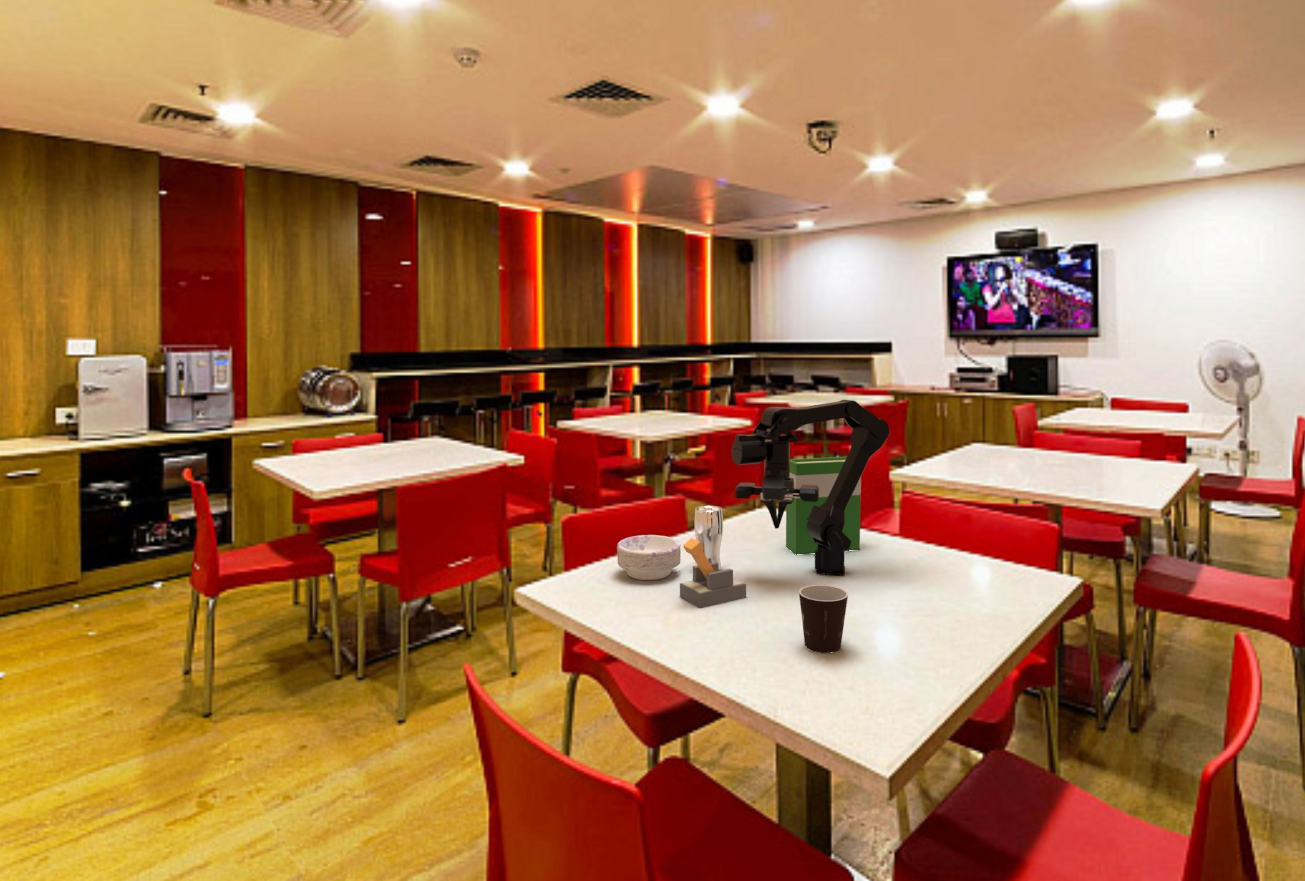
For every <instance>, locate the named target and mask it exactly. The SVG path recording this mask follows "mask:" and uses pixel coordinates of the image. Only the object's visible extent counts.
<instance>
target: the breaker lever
mask: <svg viewBox="0 0 1305 881" xmlns="http://www.w3.org/2000/svg"><path fill="white" fill-rule="evenodd" d="M682 547H683V549H684V550H685V551H686V553H688V554H690V555H691V557H692V559H693V560H694V562H695V563H696V566H697V565H698V567H699V568H700V570H701V572H702V573H703V575H704V577H705V578H706V580H707V573H710V572H715V571H714V569H713V567H712V566H711V564H710V562H709V561H708V559H707V557H706V556H705V554H704V552H703V551H702V550H703V549H704V547H703V545H702V544H701V542H700V541H697V540H696V538H693V537H691V538H690V539H688V540H687V541H686V542H685V543H684V544H682Z"/></svg>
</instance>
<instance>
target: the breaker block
mask: <svg viewBox="0 0 1305 881" xmlns="http://www.w3.org/2000/svg"><path fill="white" fill-rule="evenodd" d="M710 564H711V566H712V567H713V569H714V571H715V572H710V573H707V580H706V578H705V577H704V575H703V573H702V572H701V570H700V568H699V567H698V566H697V565H693V566H692V580H690V581H686V582H680V583H679V597H680V598H681V599H683V600H685V601H687V602H689V603H690V604H692V605H694V606H696V607H697V608H698V609H701V608H705V607H710V606H714V605H718V604H723V603H727V602H731V601H735V600H741V599H745V598H747V583H745V582H743V581H740V580H738V579H736V578H734V570H733V569H732V568H727V569H726V568H725V569H720V570H719V563H716V562H713V563H710Z"/></svg>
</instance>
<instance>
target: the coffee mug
mask: <svg viewBox="0 0 1305 881" xmlns="http://www.w3.org/2000/svg"><path fill="white" fill-rule="evenodd" d="M798 594H799V596H798V597H799V603H800V604H799V606H800V614H801V624H802V632H803V640H804V646H806V647H807V648H806V647H805V648H806V649H807V650H809V649H810V650H809V651H811V650H812V651H811V652H813V653H814V652H815V653H819V652H820V654H832V653H831V652H833V653H836V652H838V651H840V650H841V647H842V640H843V634H844V633H843V632H844V626H845V619H846V612H847V604H848V596H849V593H848V592H847V591H846V589H843V588H841V587H837V586H833V585H827V584H814V585H813V584H812V585H807V586H803V587H801V588H800V589H799V590H798Z"/></svg>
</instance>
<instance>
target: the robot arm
mask: <svg viewBox="0 0 1305 881" xmlns="http://www.w3.org/2000/svg"><path fill="white" fill-rule="evenodd" d="M839 419H843V420H844V422H845V423H846V425H847V426H848V427H850V428H851V429H852V431H851V434H850V449H849V451H848V454H847V456H846V457H847V458H846V460H845V462H844V464H843V466H842V468H841V470H840V473H839V475H838V477H837V479H836V481H835V483H834V485H833V487H832V489H831V491H830V494H829V496H828V498H827V500H826V501H825V503H824V504H822V505H821V506H820V507H819V506H816V505H814V506H813V508H812V511H811V514H810V515H809V517H808V518H807V519H806V520H808V523H807V530H808V533H809V534H810V536H812V538H813V541H814V543H817V544H818V547H817V550H815V554H814V569H815V570H816V574H817V575H829V576H830V575H832V576H845V573H846V572H845V571H846V566H845V555H846V552H845V550H849V548H850V545H851V540H850V539H849V538H848V537H847V536H846V535H845V534H844V533H843V532H842V531H843V528H844V525H845V509H846V507H847V505H848V502H849V500H850V498H851V496H852V494H853V492H854V490H855V488H856V486H857V484H858V481H859V479H860V477H861V478H862V475H863V473H864V471H865V469H866V467H867V464H868V462H869V460H870V458H871V457H872V456H874V454H875V453H876V452H878V451H879V450H880V449H881V448H882V447H883V445H884V444H885V443H886V441H887V440H888V438H889V436H890V433H891V429H890V427H889V424H888V422H887V421H886V420H885V419H883V418H878V416H876V415H875V414H873V412H870V411H869V410H867V409H866V408H864V407H863V406H862V405H861V404H860V403H858V402H857V401H856V400H853V399H852V400H850V399H841V400H839V401H833V402H827V403H821V404H815V405H808V406H803V407H788V406H787V407H785V406H769V407H766V408H765V409H764V411H763V412H762V414H761V418H760V421H759V422H758V424H757V425H756V427H755V428H754V429H753V431H752V432H751V434H736V435H735V440H734V441H733V443H732V447H731V458H732V461H733V463H734V464H735V465H736V466H742V465H757V464H762V463H763V461H764V475H763V479H762V485H761V486H756V483H755V482H740V483H739V484H738V485H737V486H736V487H735V489H734V498H735V499H738V500H739V499H743V500H749V499H750V497H752V496H759V497H760V500H759V503H761V504H764V505H765V507H766V508H767V510H768V513H769V515H770V518H771V520H772V524H773V527H774V529H775V530H777V529H779V528H780V525H781V522H782V519H783V516H784V512H786V506H787V504H792V503H793V500H794V496H795V497H800V498H801V499H802V500H803V501H809V502H816V501H818V498H819V487H818V486H817V485H802V486H801V488H800V489H798V488H794V479H793V478H790V459H791V453H790V450H791V443H798V442H799V441H800V440H799V438H798V437H796V435H794V431H797V430H799V428H802V427H803V426H806V425H811V424H815V423H822V422H827V421H835V420H839ZM777 501H778V508H777V503H776V502H777Z"/></svg>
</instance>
